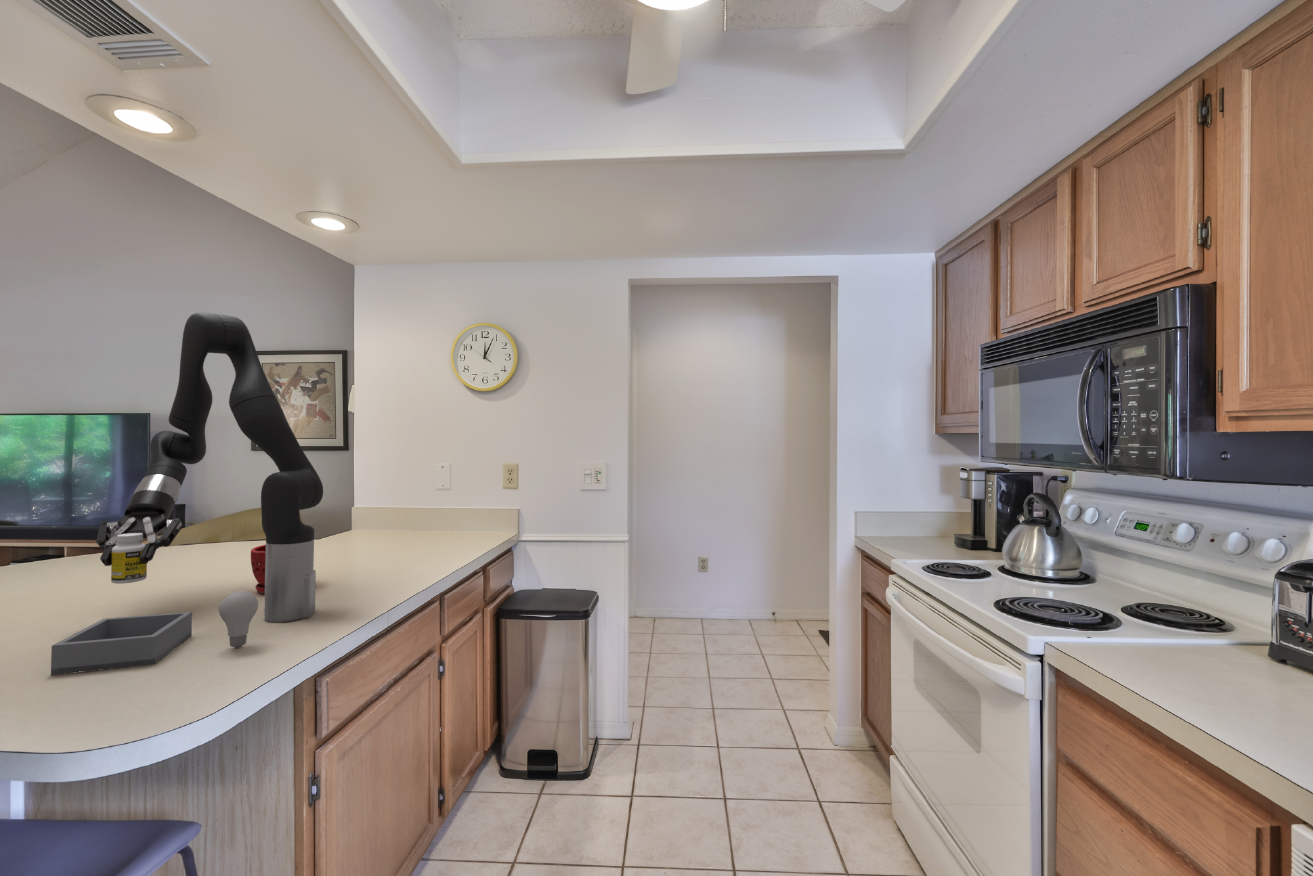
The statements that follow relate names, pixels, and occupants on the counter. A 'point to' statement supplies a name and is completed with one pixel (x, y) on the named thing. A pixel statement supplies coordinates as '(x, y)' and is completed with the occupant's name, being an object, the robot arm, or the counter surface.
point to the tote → (121, 642)
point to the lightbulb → (238, 615)
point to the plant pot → (259, 566)
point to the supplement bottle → (128, 559)
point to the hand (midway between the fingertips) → (124, 562)
